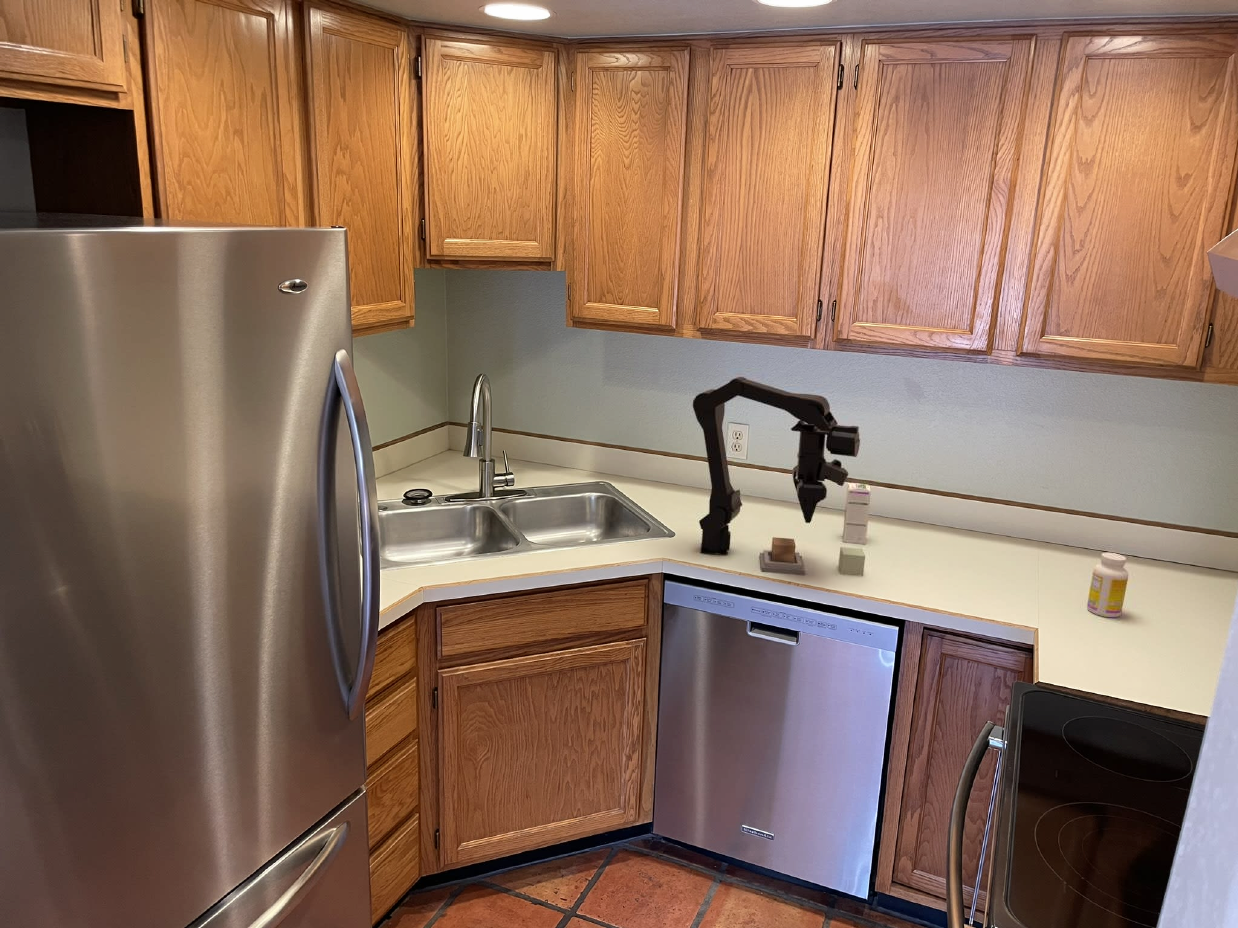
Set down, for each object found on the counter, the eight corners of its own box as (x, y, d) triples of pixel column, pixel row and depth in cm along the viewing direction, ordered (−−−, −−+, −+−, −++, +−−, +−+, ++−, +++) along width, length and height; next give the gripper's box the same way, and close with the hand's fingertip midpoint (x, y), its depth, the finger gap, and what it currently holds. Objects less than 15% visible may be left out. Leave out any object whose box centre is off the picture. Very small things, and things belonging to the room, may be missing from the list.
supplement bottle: (1124, 612, 198) (1135, 556, 194) (1116, 621, 193) (1127, 564, 190) (1091, 603, 202) (1101, 548, 199) (1082, 611, 197) (1092, 555, 194)
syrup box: (865, 544, 233) (872, 490, 229) (842, 542, 234) (848, 487, 230) (864, 537, 238) (871, 484, 235) (841, 535, 240) (847, 481, 236)
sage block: (841, 574, 212) (843, 554, 211) (838, 566, 217) (840, 546, 216) (862, 576, 212) (865, 555, 211) (859, 568, 217) (862, 548, 215)
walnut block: (771, 564, 213) (773, 544, 212) (770, 556, 218) (772, 537, 217) (793, 566, 213) (795, 545, 212) (791, 558, 218) (793, 538, 217)
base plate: (761, 571, 212) (762, 563, 211) (759, 556, 221) (760, 548, 221) (805, 574, 211) (805, 566, 210) (801, 559, 220) (802, 551, 220)
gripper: (852, 463, 198) (846, 531, 202) (842, 444, 216) (836, 507, 220) (800, 460, 200) (795, 528, 203) (794, 441, 217) (790, 504, 221)
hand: (806, 516), depth 212 cm, fingers open, 9 cm apart
